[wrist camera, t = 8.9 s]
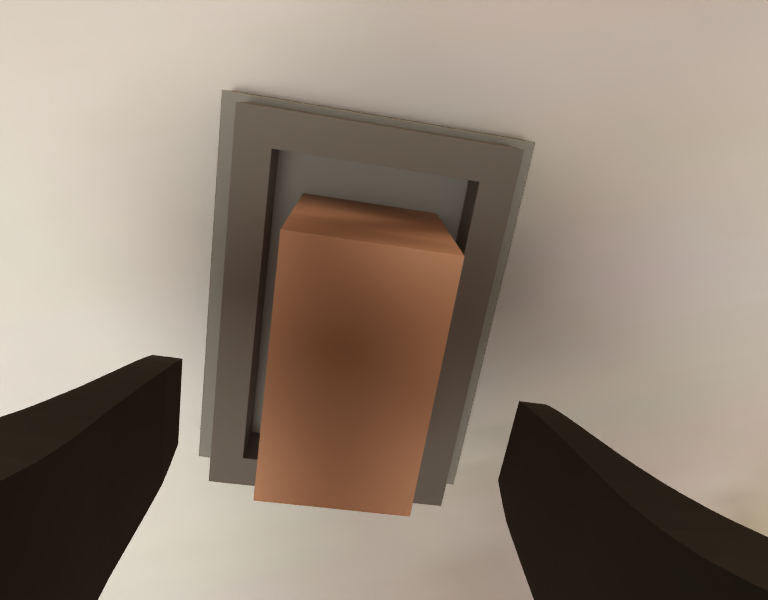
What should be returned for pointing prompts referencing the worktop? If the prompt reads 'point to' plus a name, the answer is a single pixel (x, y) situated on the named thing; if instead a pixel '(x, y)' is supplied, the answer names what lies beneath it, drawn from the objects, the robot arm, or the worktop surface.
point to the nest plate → (357, 183)
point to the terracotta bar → (354, 354)
